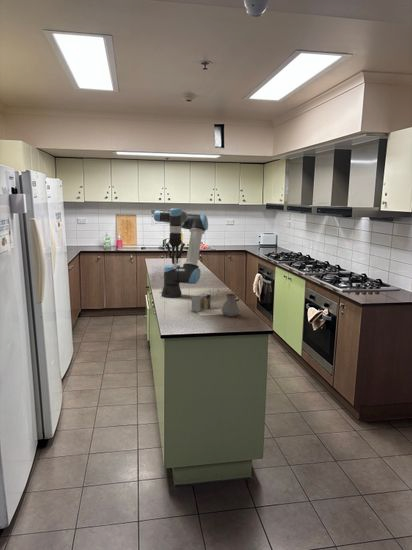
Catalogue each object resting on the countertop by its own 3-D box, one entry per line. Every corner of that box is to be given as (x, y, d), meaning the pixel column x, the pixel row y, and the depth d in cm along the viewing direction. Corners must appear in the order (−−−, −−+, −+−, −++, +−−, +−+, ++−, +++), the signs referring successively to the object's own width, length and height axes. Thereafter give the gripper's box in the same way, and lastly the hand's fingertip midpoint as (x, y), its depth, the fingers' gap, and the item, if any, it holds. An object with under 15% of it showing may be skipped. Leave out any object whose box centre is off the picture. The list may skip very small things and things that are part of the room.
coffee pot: (219, 312, 255) (220, 289, 251) (236, 311, 258) (237, 289, 254) (228, 323, 235) (230, 299, 231) (246, 323, 238) (248, 299, 234)
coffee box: (200, 298, 252) (210, 293, 266) (191, 297, 255) (202, 293, 269) (200, 312, 253) (210, 307, 268) (191, 311, 256) (202, 306, 270)
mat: (195, 310, 258) (195, 310, 258) (221, 309, 264) (221, 308, 264) (201, 316, 247) (201, 315, 247) (228, 314, 253) (228, 313, 253)
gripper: (166, 233, 251) (166, 269, 255) (186, 233, 255) (186, 269, 259) (164, 232, 258) (163, 267, 262) (183, 232, 262) (182, 267, 266)
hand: (174, 268), depth 261 cm, fingers closed
